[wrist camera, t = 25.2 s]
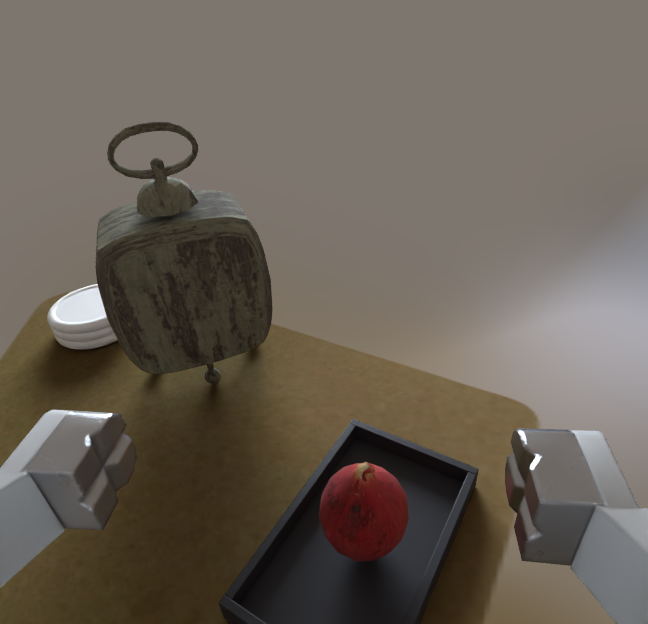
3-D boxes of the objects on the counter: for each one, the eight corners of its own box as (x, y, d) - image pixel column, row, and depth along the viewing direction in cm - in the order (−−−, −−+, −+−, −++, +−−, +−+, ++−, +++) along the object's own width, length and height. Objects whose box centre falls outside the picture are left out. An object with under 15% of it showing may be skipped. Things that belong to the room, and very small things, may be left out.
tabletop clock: (265, 329, 56) (227, 101, 42) (288, 377, 49) (252, 121, 35) (138, 364, 53) (50, 126, 39) (142, 420, 45) (37, 153, 31)
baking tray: (376, 728, 26) (376, 715, 24) (223, 618, 31) (217, 603, 29) (475, 485, 37) (478, 468, 36) (353, 434, 42) (352, 418, 41)
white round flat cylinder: (94, 360, 54) (83, 335, 52) (39, 338, 58) (27, 314, 56) (159, 314, 61) (151, 290, 59) (105, 297, 65) (97, 275, 63)
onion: (390, 599, 30) (392, 526, 26) (309, 563, 33) (298, 491, 28) (416, 521, 35) (422, 447, 30) (343, 494, 37) (338, 421, 32)
